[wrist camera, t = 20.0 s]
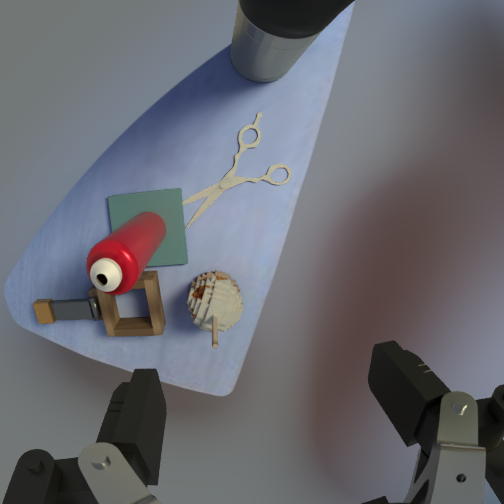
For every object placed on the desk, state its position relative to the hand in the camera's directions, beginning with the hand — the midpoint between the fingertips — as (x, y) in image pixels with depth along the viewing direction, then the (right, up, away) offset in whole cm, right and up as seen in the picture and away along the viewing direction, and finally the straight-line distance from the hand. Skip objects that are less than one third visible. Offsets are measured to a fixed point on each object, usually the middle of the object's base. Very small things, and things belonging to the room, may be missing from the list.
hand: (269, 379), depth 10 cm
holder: (-21, -3, +36) cm, 42 cm away
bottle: (-16, +8, +33) cm, 37 cm away
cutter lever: (-30, -5, +33) cm, 45 cm away
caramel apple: (-6, -2, +38) cm, 38 cm away
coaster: (-16, +8, +34) cm, 38 cm away
